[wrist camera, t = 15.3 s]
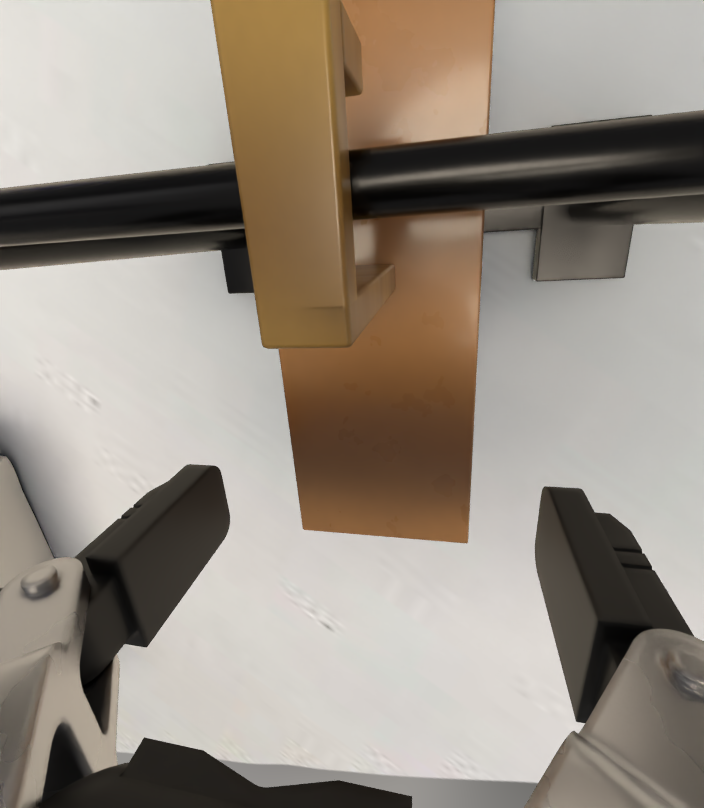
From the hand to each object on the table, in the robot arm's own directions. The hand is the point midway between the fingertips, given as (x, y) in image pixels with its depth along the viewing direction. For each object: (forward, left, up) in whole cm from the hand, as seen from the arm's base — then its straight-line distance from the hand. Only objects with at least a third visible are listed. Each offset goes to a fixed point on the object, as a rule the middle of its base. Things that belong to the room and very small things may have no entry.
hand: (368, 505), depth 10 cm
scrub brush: (-7, -2, -7) cm, 10 cm away
